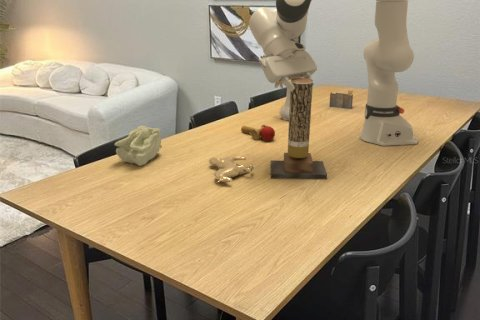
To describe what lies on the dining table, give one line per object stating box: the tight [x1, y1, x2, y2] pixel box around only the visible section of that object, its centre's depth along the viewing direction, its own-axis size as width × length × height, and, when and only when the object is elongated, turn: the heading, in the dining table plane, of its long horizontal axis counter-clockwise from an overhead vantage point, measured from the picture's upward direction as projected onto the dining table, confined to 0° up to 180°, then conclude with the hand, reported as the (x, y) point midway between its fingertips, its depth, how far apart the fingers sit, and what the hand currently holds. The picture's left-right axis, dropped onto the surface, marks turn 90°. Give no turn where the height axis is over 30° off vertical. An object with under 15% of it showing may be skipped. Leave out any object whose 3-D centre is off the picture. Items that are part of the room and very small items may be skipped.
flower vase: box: [274, 77, 303, 121], centre depth 194 cm, size 13×18×25 cm
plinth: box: [270, 152, 328, 180], centre depth 139 cm, size 18×12×5 cm, turn 86°
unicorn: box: [208, 156, 255, 183], centre depth 138 cm, size 20×4×17 cm
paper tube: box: [287, 78, 314, 158], centre depth 133 cm, size 7×7×25 cm
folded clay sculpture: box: [114, 124, 163, 167], centre depth 149 cm, size 18×13×16 cm
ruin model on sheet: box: [329, 90, 354, 110], centre depth 218 cm, size 11×3×10 cm, turn 61°
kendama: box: [240, 124, 276, 142], centre depth 174 cm, size 8×6×18 cm
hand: (302, 88), depth 129 cm, fingers closed on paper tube, 6 cm apart
